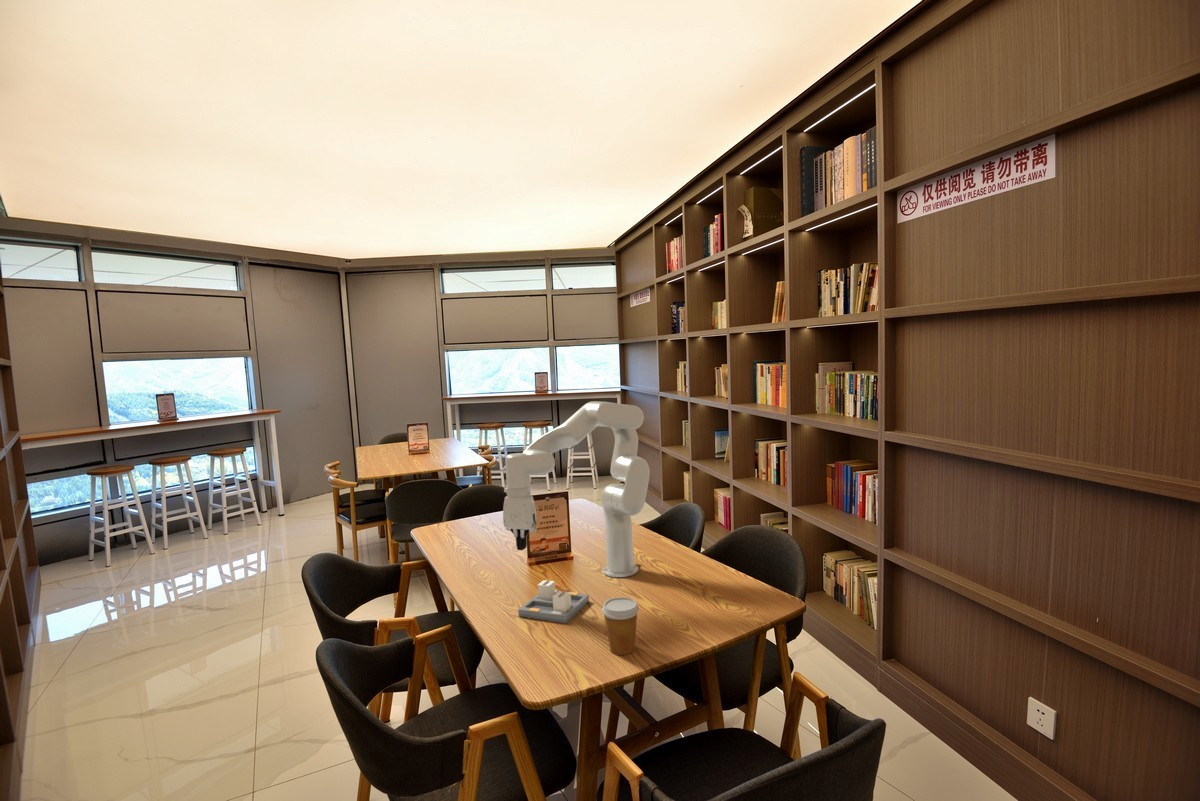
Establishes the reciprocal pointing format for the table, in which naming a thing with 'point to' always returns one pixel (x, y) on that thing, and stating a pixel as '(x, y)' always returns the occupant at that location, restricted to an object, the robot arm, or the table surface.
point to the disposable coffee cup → (621, 624)
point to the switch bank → (545, 608)
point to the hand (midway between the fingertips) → (521, 548)
